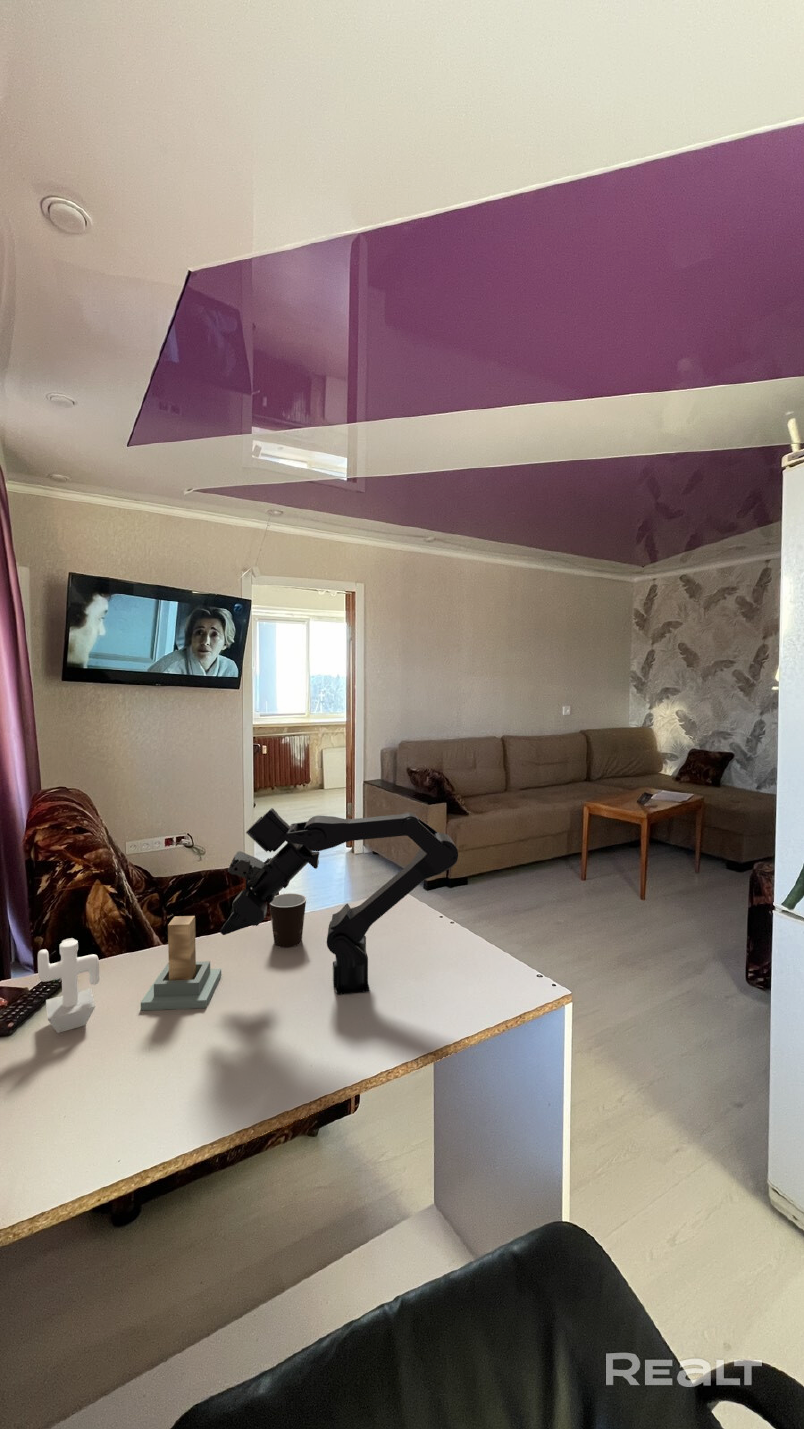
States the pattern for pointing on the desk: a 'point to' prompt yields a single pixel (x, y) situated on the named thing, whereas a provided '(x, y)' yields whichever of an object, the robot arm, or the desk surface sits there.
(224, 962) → the desk surface
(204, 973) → the socket holder
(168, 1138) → the desk surface
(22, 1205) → the desk surface
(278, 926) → the brown paper cup
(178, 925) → the oak stick
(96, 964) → the figurine
